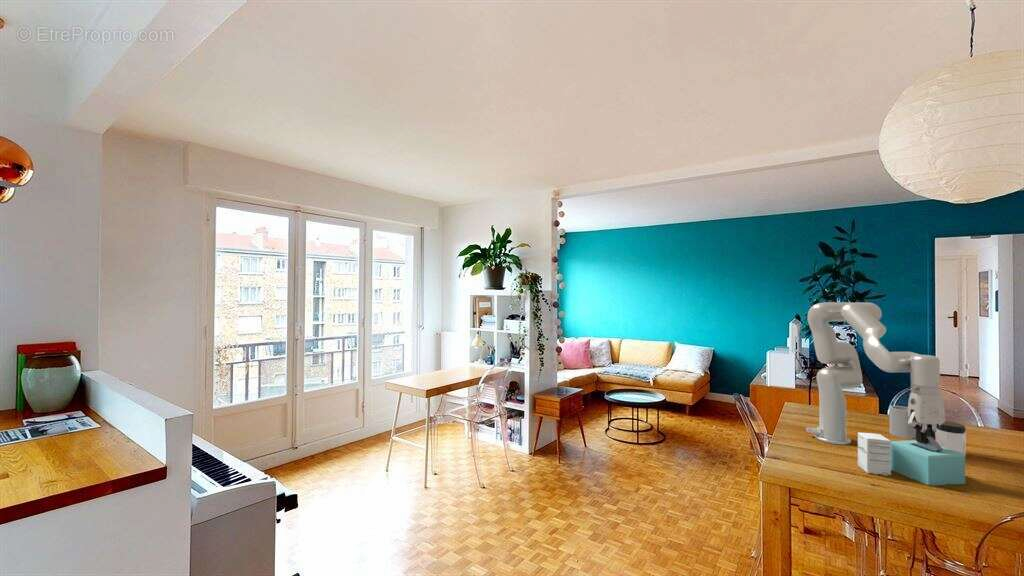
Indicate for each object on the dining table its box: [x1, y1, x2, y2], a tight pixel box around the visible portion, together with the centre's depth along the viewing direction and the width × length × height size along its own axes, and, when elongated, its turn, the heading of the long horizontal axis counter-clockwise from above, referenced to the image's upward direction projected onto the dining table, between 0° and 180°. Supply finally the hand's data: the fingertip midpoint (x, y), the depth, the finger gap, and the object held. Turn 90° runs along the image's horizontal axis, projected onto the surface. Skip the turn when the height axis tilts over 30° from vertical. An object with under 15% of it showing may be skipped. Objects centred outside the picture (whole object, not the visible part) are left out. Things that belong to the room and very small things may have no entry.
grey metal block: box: [915, 436, 943, 452], centre depth 153 cm, size 2×6×5 cm
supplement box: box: [857, 431, 892, 476], centre depth 158 cm, size 7×7×13 cm
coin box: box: [890, 439, 966, 486], centre depth 154 cm, size 14×14×10 cm
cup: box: [889, 405, 916, 439], centre depth 197 cm, size 9×9×12 cm
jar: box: [935, 420, 967, 457], centre depth 174 cm, size 9×8×12 cm
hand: (925, 442), depth 154 cm, fingers open, 2 cm apart
